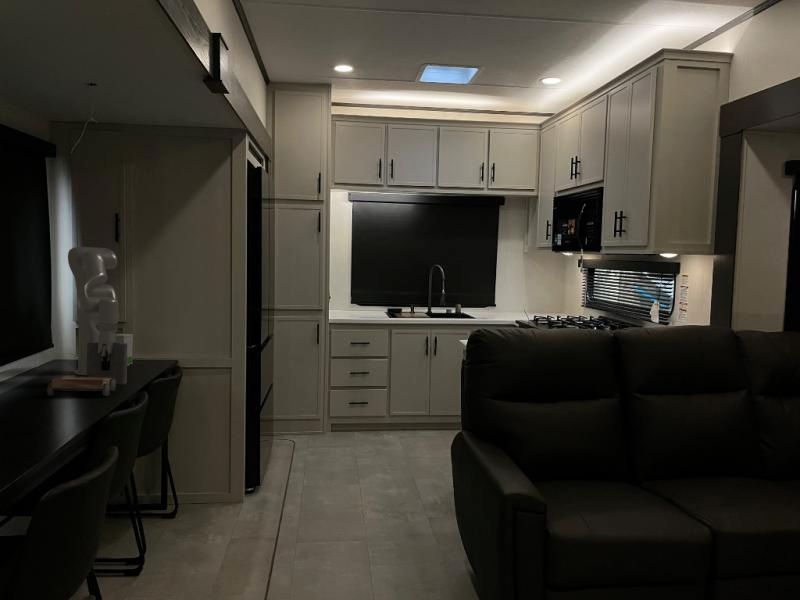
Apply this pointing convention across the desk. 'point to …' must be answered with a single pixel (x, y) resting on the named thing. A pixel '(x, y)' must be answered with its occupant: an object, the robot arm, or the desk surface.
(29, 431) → the desk surface
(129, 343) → the skincare box
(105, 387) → the dolly
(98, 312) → the robot arm
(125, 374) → the grey upright notched slab
